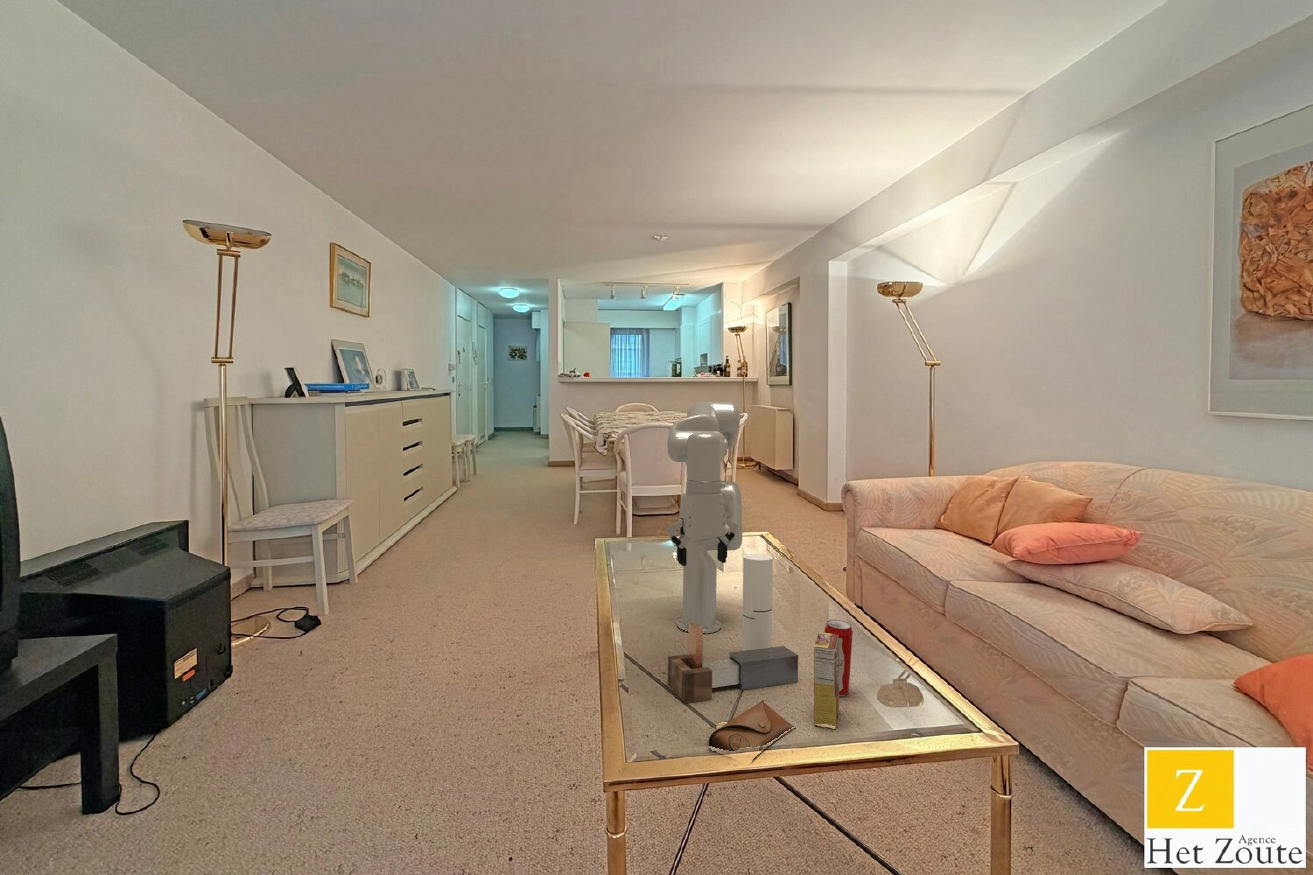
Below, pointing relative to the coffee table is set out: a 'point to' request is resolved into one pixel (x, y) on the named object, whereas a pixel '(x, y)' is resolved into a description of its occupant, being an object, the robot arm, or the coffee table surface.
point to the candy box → (826, 679)
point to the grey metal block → (766, 667)
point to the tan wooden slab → (721, 670)
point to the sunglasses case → (750, 729)
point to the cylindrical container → (757, 602)
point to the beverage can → (842, 651)
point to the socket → (689, 680)
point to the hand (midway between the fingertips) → (702, 563)
